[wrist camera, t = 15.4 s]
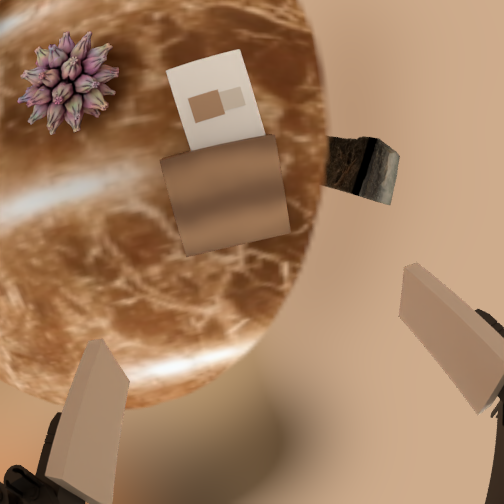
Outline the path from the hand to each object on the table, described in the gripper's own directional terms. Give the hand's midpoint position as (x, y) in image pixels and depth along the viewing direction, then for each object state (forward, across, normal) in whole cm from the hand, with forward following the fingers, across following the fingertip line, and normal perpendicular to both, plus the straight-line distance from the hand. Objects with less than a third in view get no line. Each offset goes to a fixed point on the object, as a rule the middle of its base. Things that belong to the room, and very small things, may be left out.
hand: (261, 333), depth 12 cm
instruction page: (+27, +1, +11) cm, 29 cm away
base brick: (+27, 0, 0) cm, 27 cm away
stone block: (+25, +21, -1) cm, 33 cm away
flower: (+27, -14, +18) cm, 35 cm away
